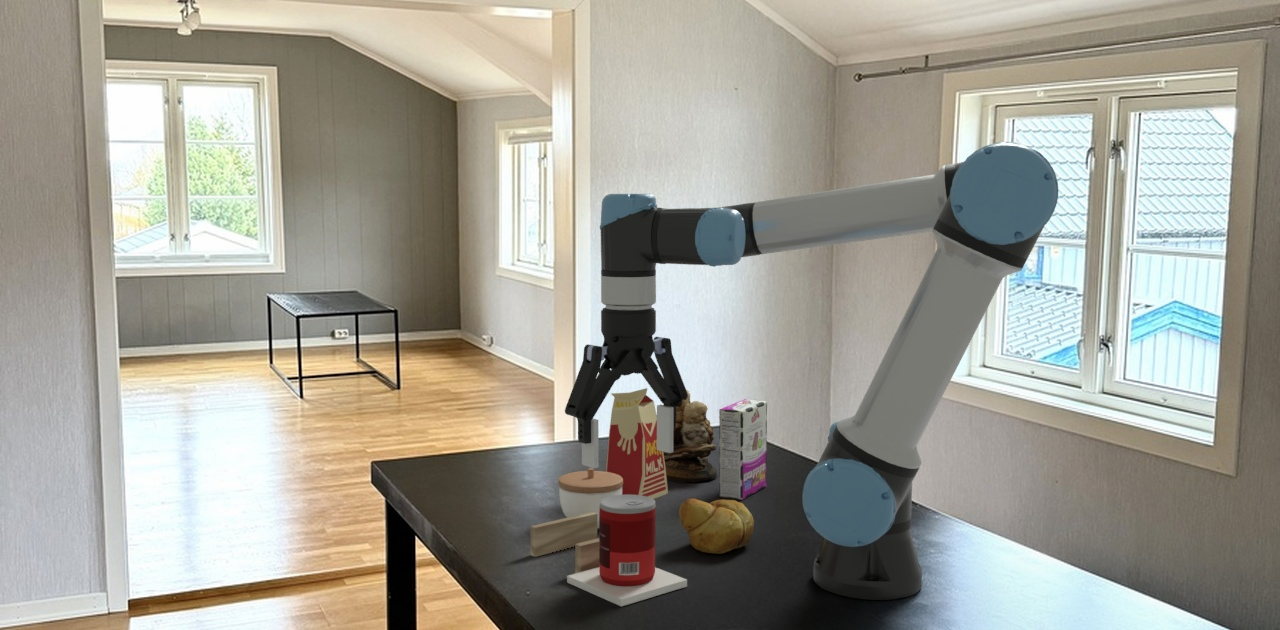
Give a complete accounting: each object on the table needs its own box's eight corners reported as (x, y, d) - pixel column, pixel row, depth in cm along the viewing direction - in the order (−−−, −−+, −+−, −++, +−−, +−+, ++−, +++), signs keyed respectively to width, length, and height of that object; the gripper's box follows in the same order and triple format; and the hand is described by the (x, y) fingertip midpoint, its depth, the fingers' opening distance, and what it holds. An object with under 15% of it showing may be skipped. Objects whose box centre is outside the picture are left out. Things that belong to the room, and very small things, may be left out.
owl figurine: (735, 479, 218) (737, 392, 216) (685, 488, 212) (686, 399, 210) (681, 460, 233) (682, 378, 231) (633, 468, 227) (633, 383, 225)
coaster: (687, 586, 159) (687, 579, 159) (621, 606, 151) (621, 599, 151) (631, 564, 168) (631, 558, 168) (567, 582, 160) (567, 575, 160)
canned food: (666, 577, 160) (667, 501, 159) (627, 591, 154) (627, 512, 153) (627, 564, 165) (627, 490, 164) (587, 578, 159) (588, 501, 158)
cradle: (643, 559, 171) (643, 530, 170) (580, 576, 163) (580, 546, 163) (592, 539, 180) (592, 511, 180) (530, 554, 172) (530, 526, 172)
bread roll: (726, 530, 186) (727, 482, 185) (773, 544, 179) (774, 494, 178) (672, 547, 177) (672, 497, 176) (719, 562, 170) (720, 510, 169)
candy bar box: (742, 483, 215) (744, 398, 213) (767, 487, 213) (768, 400, 211) (716, 497, 205) (718, 407, 204) (742, 501, 203) (743, 410, 201)
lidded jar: (615, 535, 182) (615, 478, 181) (550, 531, 184) (550, 474, 183) (629, 517, 193) (629, 463, 192) (568, 513, 195) (567, 459, 194)
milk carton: (668, 493, 208) (669, 385, 206) (641, 505, 200) (642, 393, 198) (626, 486, 213) (627, 380, 210) (598, 497, 205) (598, 387, 203)
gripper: (677, 298, 166) (676, 441, 169) (538, 310, 150) (539, 467, 153) (712, 302, 161) (711, 449, 163) (572, 315, 145) (573, 478, 147)
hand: (628, 458), depth 158 cm, fingers open, 13 cm apart
